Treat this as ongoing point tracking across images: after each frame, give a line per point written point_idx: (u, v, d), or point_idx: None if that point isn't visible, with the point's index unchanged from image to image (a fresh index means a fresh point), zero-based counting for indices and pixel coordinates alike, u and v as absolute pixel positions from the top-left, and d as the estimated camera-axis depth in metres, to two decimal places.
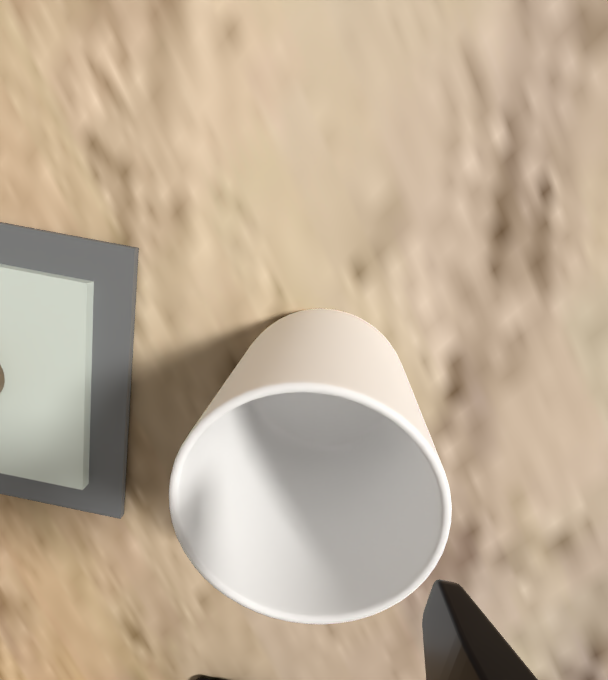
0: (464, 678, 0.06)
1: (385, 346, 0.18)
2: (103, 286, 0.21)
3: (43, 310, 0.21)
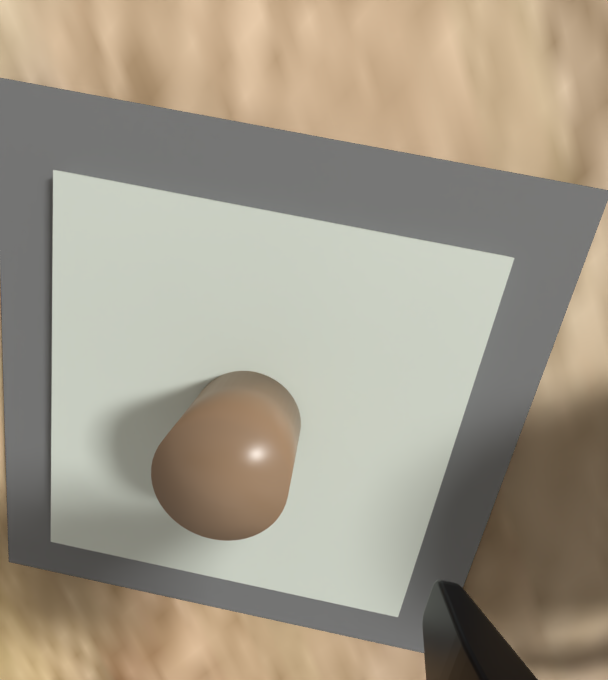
0: (464, 678, 0.06)
1: None
2: (522, 265, 0.11)
3: (409, 309, 0.11)
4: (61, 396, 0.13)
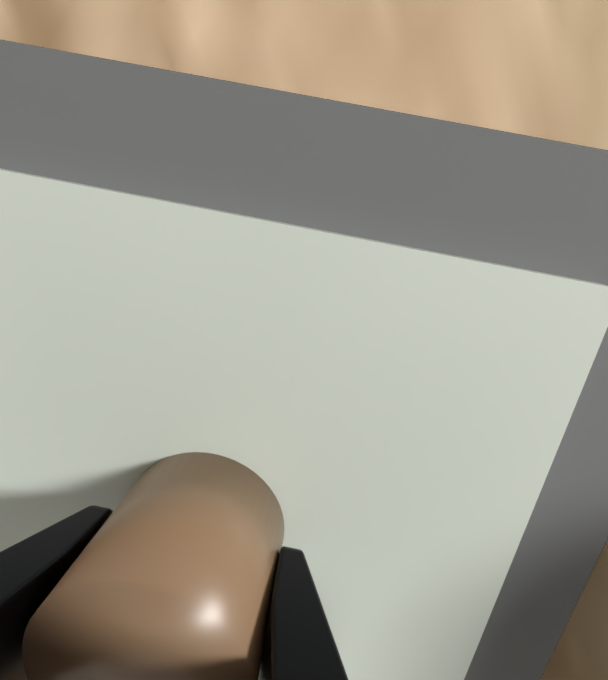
0: (267, 635, 0.06)
1: None
2: None
3: (449, 367, 0.07)
4: None
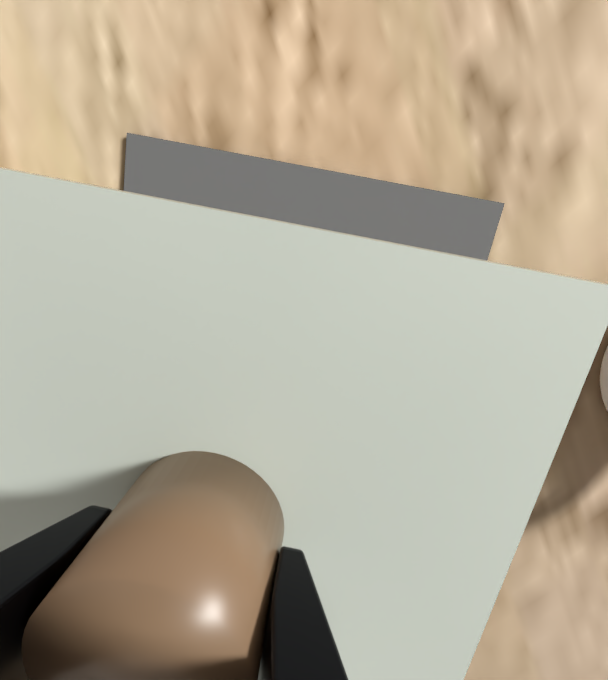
0: (267, 635, 0.06)
1: None
2: (453, 249, 0.18)
3: (449, 366, 0.07)
4: None
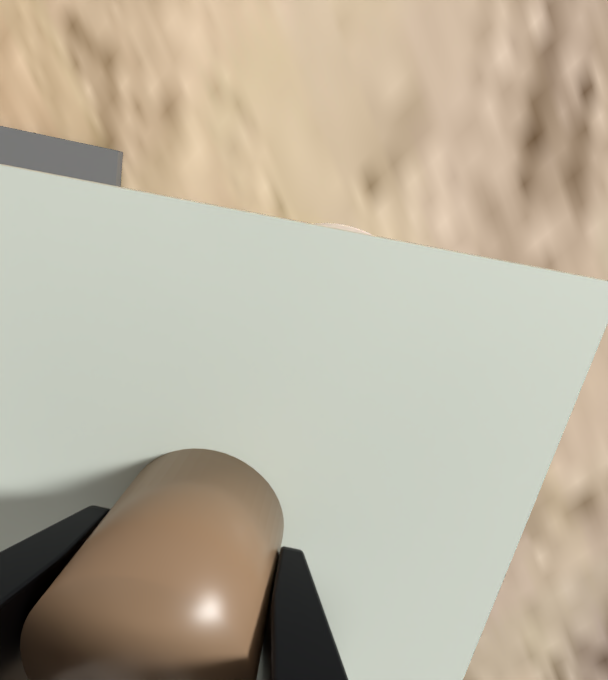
0: (267, 635, 0.06)
1: None
2: None
3: (449, 362, 0.07)
4: None
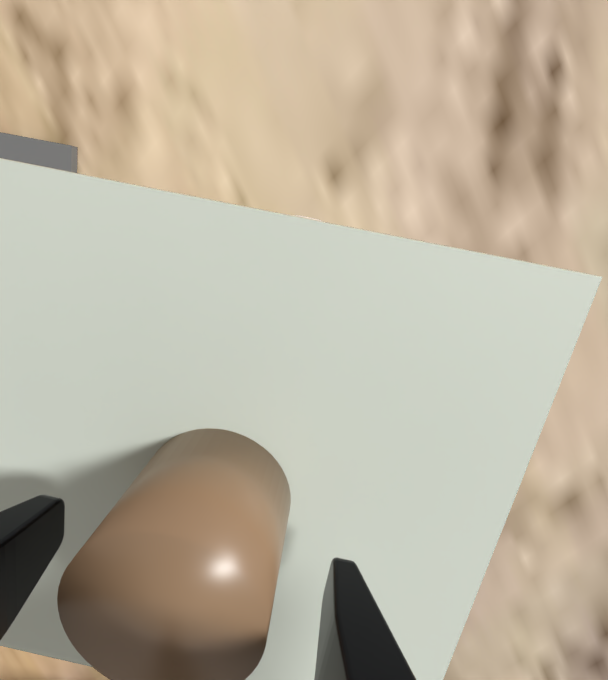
0: (333, 649, 0.06)
1: None
2: None
3: (444, 348, 0.08)
4: None
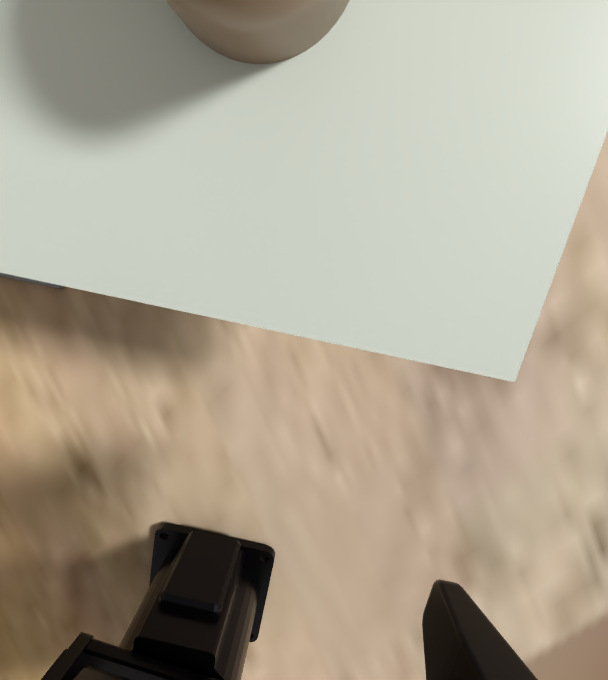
0: (464, 678, 0.06)
1: None
2: None
3: None
4: None
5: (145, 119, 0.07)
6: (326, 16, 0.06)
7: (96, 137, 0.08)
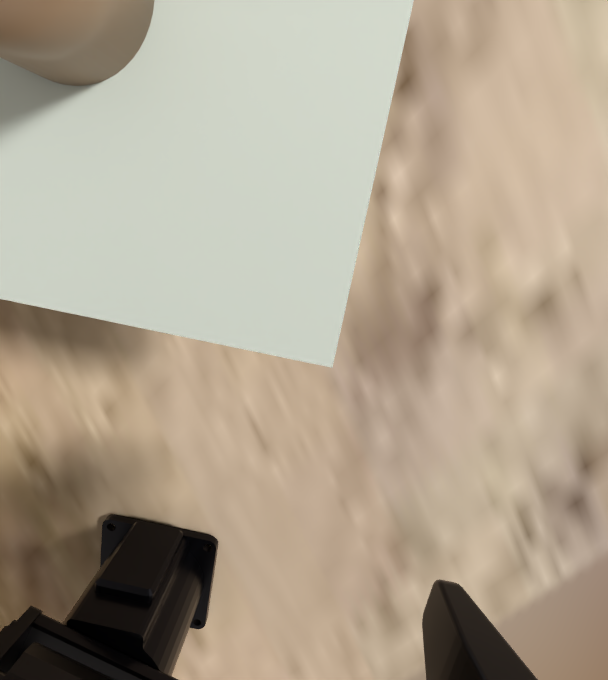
0: (464, 678, 0.06)
1: None
2: None
3: None
4: None
5: None
6: (116, 45, 0.07)
7: None
